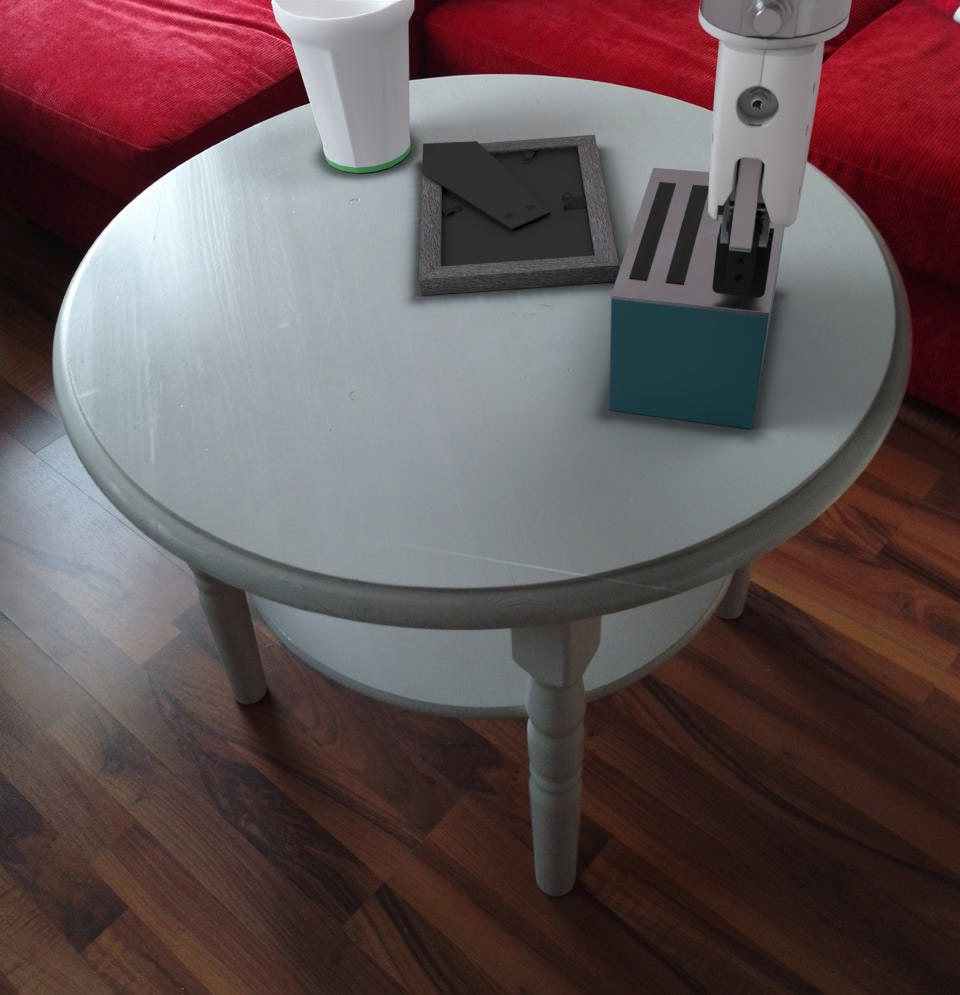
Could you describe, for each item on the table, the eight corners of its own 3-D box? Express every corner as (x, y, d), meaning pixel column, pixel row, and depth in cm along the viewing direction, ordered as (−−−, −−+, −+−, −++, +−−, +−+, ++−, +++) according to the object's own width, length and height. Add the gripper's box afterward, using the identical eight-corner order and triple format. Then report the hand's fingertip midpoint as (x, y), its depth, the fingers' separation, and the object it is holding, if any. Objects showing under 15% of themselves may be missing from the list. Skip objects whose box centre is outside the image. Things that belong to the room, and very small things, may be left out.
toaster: (774, 292, 86) (792, 177, 78) (751, 429, 75) (769, 311, 68) (648, 279, 88) (653, 166, 81) (608, 410, 78) (610, 294, 70)
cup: (355, 109, 111) (329, -48, 100) (456, 135, 106) (441, -28, 95) (277, 166, 105) (241, 5, 94) (382, 197, 99) (356, 30, 88)
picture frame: (425, 162, 103) (421, 295, 89) (423, 143, 102) (418, 275, 87) (594, 149, 102) (618, 281, 88) (594, 130, 101) (618, 260, 87)
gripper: (845, 60, 49) (790, 371, 63) (859, -66, 59) (809, 227, 72) (679, 51, 51) (660, 355, 64) (719, -69, 61) (695, 217, 74)
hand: (739, 287), depth 68 cm, fingers closed
